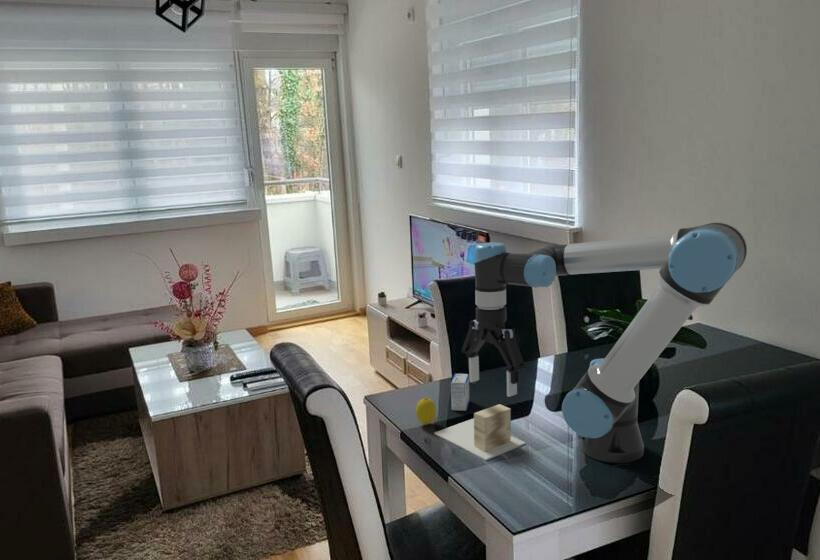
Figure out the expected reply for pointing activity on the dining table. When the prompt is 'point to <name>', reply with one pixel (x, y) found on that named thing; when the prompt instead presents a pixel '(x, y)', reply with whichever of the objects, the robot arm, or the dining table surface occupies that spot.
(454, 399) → the medicine box
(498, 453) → the placemat
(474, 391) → the dining table surface
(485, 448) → the slab
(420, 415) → the lemon
